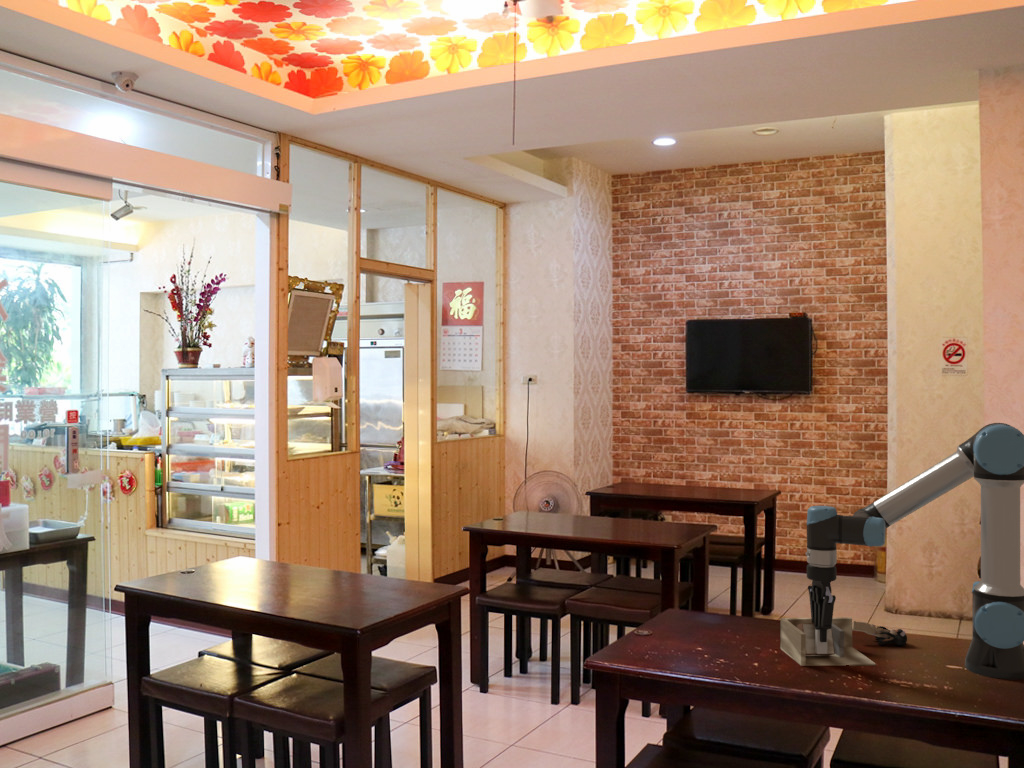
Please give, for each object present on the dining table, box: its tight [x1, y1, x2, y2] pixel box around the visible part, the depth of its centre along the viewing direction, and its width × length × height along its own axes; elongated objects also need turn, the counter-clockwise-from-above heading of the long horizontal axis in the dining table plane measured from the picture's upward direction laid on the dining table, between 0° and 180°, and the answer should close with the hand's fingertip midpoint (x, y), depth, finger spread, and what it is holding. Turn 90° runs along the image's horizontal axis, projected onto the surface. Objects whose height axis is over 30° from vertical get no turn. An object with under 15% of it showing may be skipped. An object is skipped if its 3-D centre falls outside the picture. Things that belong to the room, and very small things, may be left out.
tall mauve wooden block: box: [797, 623, 835, 655], centre depth 244 cm, size 8×4×8 cm, turn 94°
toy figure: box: [852, 620, 908, 647], centre depth 260 cm, size 7×6×15 cm
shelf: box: [779, 616, 877, 667], centre depth 246 cm, size 20×16×9 cm
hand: (821, 652), depth 240 cm, fingers closed
